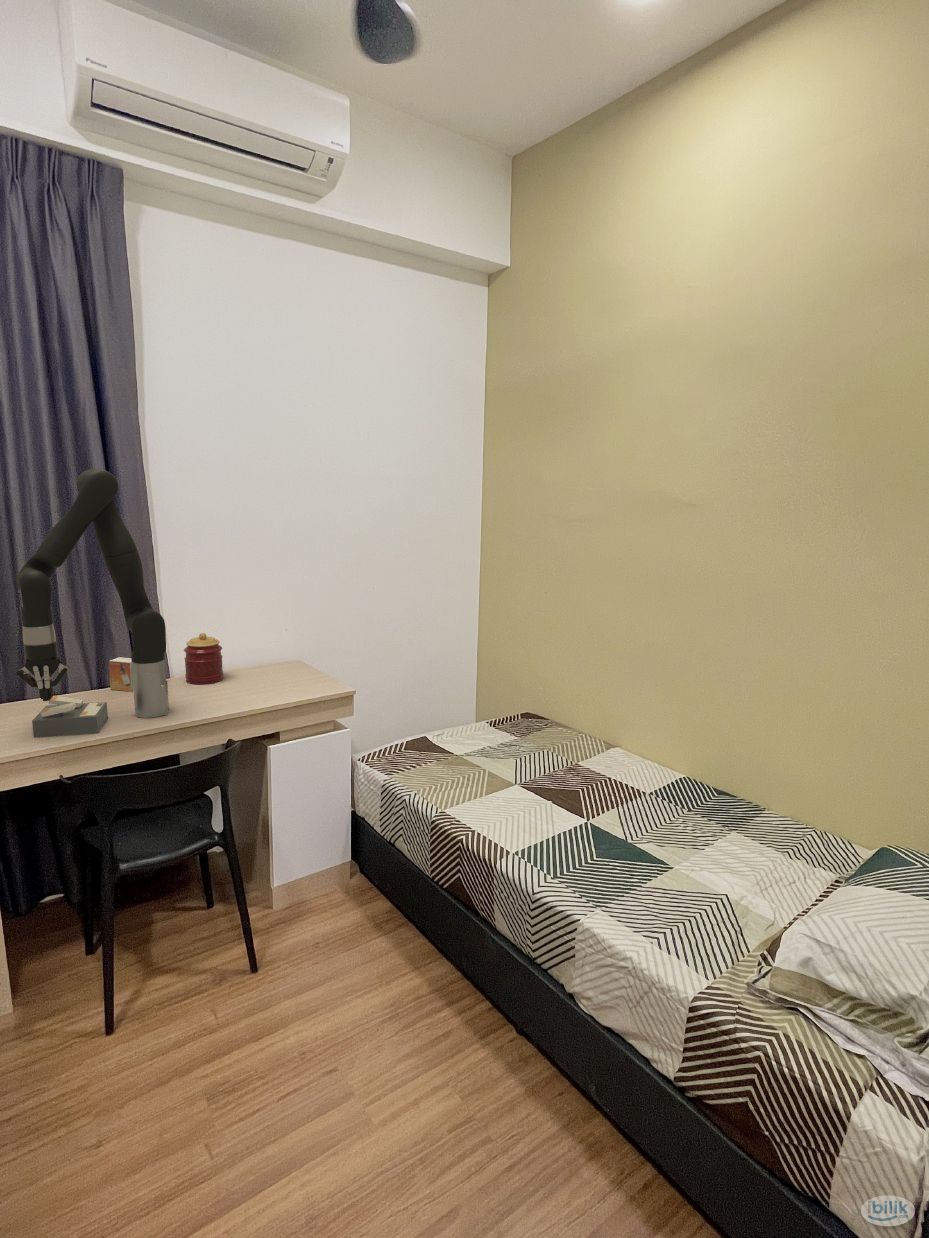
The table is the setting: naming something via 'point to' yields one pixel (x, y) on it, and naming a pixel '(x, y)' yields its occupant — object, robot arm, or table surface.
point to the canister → (203, 660)
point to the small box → (121, 674)
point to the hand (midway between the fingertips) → (46, 700)
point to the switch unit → (71, 721)
